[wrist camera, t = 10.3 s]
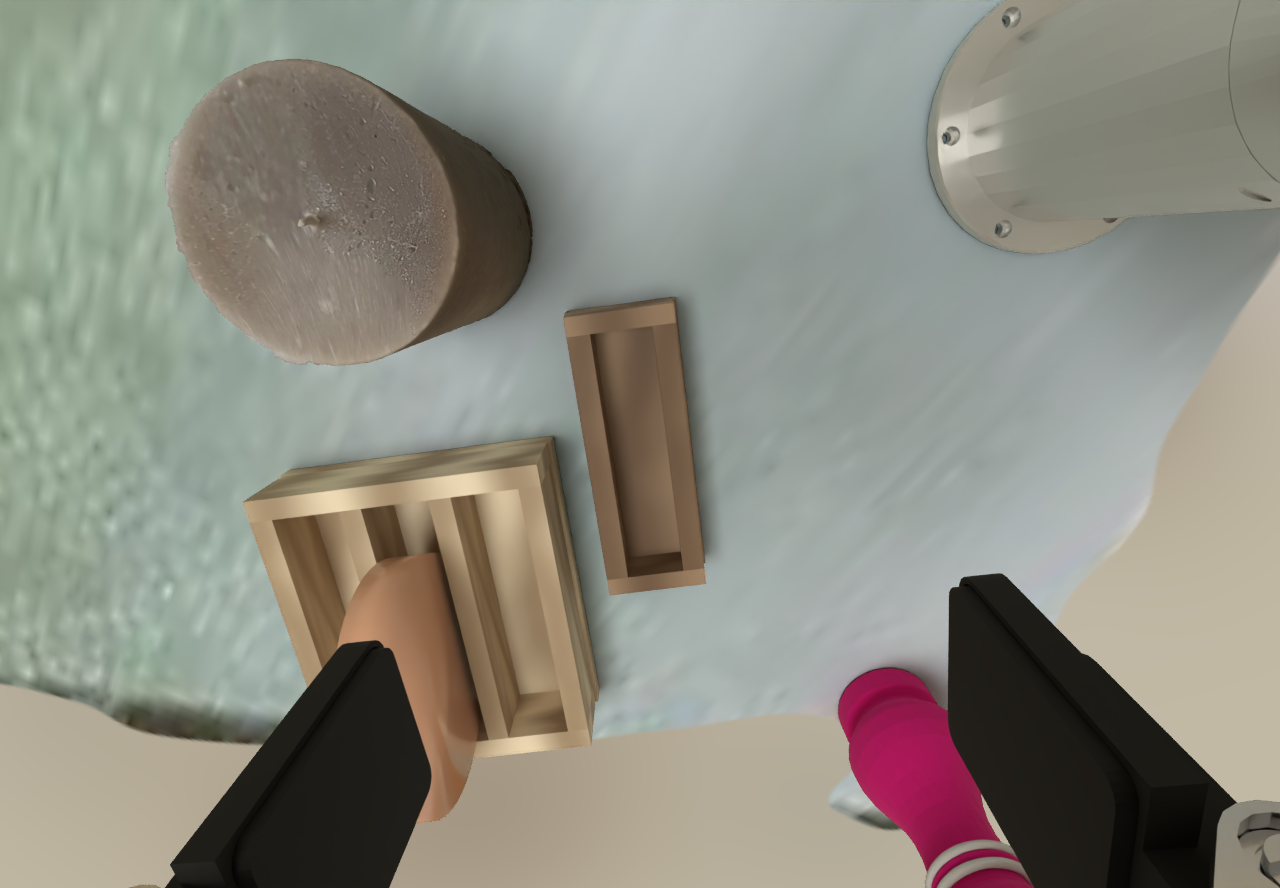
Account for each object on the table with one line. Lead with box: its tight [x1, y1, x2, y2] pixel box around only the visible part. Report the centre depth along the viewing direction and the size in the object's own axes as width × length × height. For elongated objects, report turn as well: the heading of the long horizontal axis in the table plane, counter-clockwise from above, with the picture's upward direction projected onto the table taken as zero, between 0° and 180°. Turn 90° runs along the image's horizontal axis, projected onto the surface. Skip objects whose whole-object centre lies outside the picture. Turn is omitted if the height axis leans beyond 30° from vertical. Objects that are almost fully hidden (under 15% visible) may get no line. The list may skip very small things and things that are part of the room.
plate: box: [337, 552, 481, 823], centre depth 33 cm, size 2×13×13 cm, turn 7°
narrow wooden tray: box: [563, 297, 706, 595], centre depth 35 cm, size 6×16×3 cm, turn 8°
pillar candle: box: [165, 59, 533, 366], centre depth 26 cm, size 10×10×15 cm
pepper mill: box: [838, 668, 1034, 888], centre depth 33 cm, size 7×7×20 cm
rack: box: [243, 436, 599, 758], centre depth 38 cm, size 16×18×5 cm
